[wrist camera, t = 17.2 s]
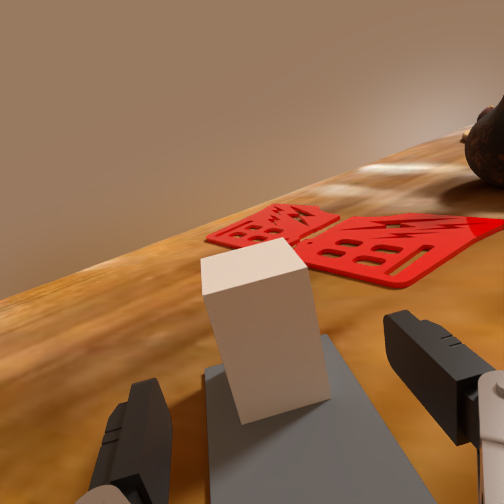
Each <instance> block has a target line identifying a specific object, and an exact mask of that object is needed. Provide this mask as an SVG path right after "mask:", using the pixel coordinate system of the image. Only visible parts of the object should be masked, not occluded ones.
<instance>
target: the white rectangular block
mask: <svg viewBox="0 0 504 504" xmlns="http://www.w3.org/2000/svg"><path fill="white" fill-rule="evenodd" d="M201 276H202V295H203V299H204V302H205V305H206V309H207V312H208V315H209V319H210V322H211V325H212V329H213V332H214V335H215V338H216V342H217V345H218V348H219V352H220V355H221V358H222V362H223V365H224V368H225V371H226V375H227V378H228V381H229V385H230V388H231V391H232V394H233V398H234V401H235V404H236V408H237V411H238V414H239V418H240V421H241V424H242V425H243V424H247V423H250V422H253V421H257V420H260V419H263V418H267V417H270V416H273V415H277V414H280V413H284V412H287V411H290V410H294V409H297V408H300V407H304V406H307V405H310V404H314V403H317V402H321V401H324V400H327V399H331V398H332V397H331V391H330V386H329V380H328V375H327V369H326V364H325V359H324V353H323V348H322V342H321V337H320V331H319V326H318V321H317V315H316V310H315V304H314V299H313V293H312V288H311V283H310V277H309V272H308V267H307V266H306V265H305V263H304V262H303V261H302V260H301V258H300V257H299V256H298V255H297V254H296V252H295V251H294V250H293V249H292V248H291V246H290V245H289V244H288V243H287V242H286V240H285V239H284V238H283V237H282V238H278V239H274V240H270V241H267V242H263V243H259V244H255V245H251V246H248V247H244V248H240V249H236V250H233V251H229V252H225V253H221V254H217V255H214V256H210V257H206V258H202V259H201Z"/></svg>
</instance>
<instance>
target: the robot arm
mask: <svg viewBox="0 0 504 504" xmlns="http://www.w3.org/2000/svg"><path fill="white" fill-rule="evenodd" d="M383 324H384V335H385V347H386V354H387V358H388V361H389V363H390V365H391V367H392V369H393V370H394V371H395V372H396V374H397V375H398V376H399V377H400V378H401V380H402V381H403V382H404V383H405V384H406V386H407V387H408V388H409V389H410V390H411V392H412V393H413V394H414V395H415V396H416V398H417V399H418V400H419V401H420V403H421V404H422V405H423V406H424V407H425V409H426V410H427V411H428V412H429V413H430V415H431V416H432V417H433V418H434V419H435V421H436V422H437V423H438V424H439V425H440V427H441V428H442V429H443V430H444V431H445V433H446V434H447V435H448V436H449V437H450V439H451V440H452V441H453V442H454V443H455V445H456V446H459V445H462V444H466V443H469V442H471V443H472V444H473V445H474V446H475V447H476V448H477V454H476V458H477V489H478V504H504V371H502V370H496V369H494V368H493V367H492V366H491V365H489V364H488V363H487V362H486V361H484V360H483V359H482V358H481V357H479V356H478V355H477V354H476V353H474V352H473V351H472V350H471V349H469V348H468V347H467V346H466V345H464V344H462V343H461V341H459V340H458V339H457V338H456V337H453V336H452V334H451V333H449V332H448V331H447V330H446V329H444V328H443V327H442V326H440V325H438V324H435V323H433V322H430V321H428V320H422V321H420V320H418V319H417V318H416V317H415V316H414V315H413V314H411V313H410V312H409V311H408V310H402V311H399V312H395V313H391V314H388V315H385V316H384V318H383ZM171 449H172V421H171V416H170V413H169V410H168V407H167V404H166V402H165V399H164V396H163V394H162V391H161V388H160V385H159V383H158V381H157V379H156V378H152V379H148V380H144V381H141V382H137V383H133V384H132V386H131V389H130V394H129V398H128V401H127V402H124V403H120V404H118V405H117V407H116V408H115V410H114V411H113V413H112V414H111V415H110V417H109V419H108V422H107V426H106V429H105V435H104V437H103V440H102V446H101V447H100V451H99V454H98V458H97V462H96V465H95V469H94V472H93V476H92V479H91V483H90V486H89V490H88V492H87V493H86V494H84V495H83V496H82V497H81V498H80V499H78V500H77V502H76V503H75V504H168V499H169V482H170V466H171Z"/></svg>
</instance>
